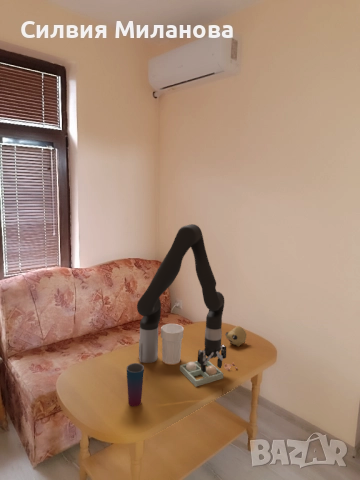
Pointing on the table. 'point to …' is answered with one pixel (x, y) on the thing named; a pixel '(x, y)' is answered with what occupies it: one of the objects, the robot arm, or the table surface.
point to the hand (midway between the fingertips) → (211, 369)
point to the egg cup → (229, 366)
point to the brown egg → (211, 370)
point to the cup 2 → (171, 343)
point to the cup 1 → (135, 383)
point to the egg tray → (199, 372)
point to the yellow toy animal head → (236, 336)
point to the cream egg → (191, 366)
